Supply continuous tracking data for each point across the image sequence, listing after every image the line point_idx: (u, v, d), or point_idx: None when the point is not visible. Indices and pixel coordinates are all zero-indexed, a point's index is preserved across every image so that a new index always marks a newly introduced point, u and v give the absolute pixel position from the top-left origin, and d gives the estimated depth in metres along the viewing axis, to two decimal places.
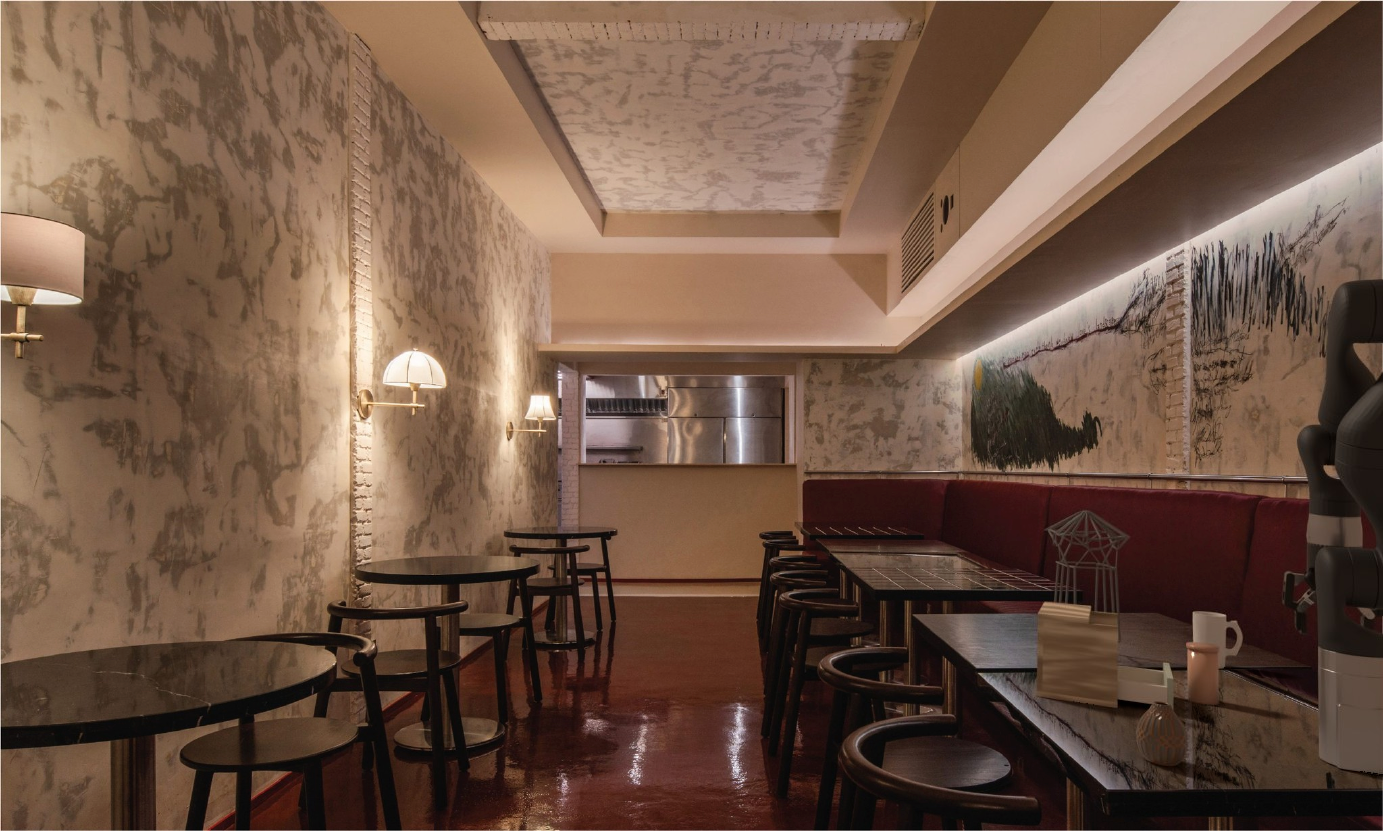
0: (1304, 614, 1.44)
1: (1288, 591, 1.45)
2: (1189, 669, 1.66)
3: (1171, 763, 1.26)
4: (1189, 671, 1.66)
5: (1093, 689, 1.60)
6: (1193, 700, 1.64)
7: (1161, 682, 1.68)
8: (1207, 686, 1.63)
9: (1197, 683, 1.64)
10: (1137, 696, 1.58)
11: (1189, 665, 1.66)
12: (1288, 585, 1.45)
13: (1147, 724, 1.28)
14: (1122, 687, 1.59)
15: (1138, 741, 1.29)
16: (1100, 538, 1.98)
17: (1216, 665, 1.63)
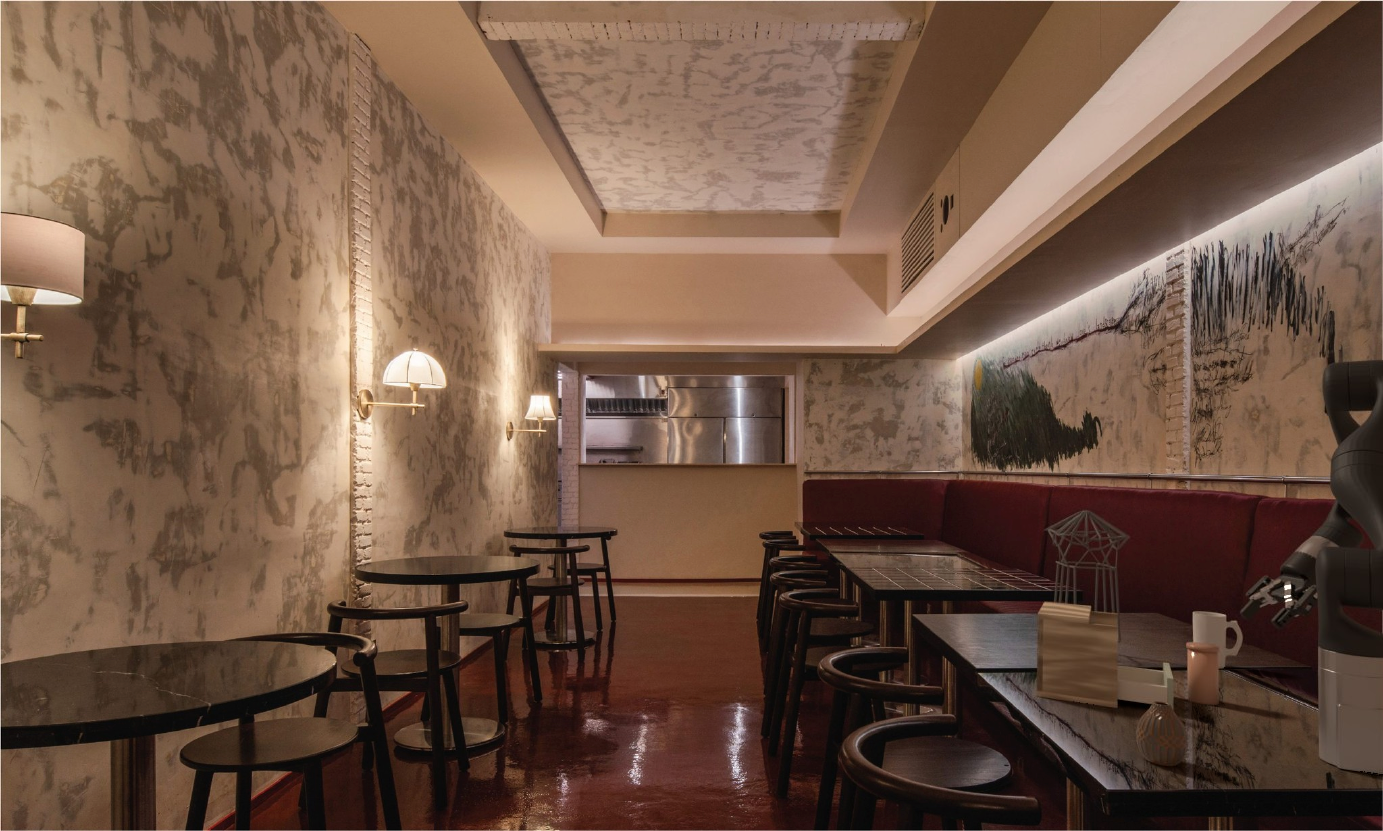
0: (1251, 601, 1.71)
1: (1255, 585, 1.74)
2: (1189, 669, 1.66)
3: (1171, 763, 1.26)
4: (1189, 671, 1.66)
5: (1093, 689, 1.60)
6: (1193, 700, 1.64)
7: (1161, 682, 1.68)
8: (1207, 686, 1.63)
9: (1197, 683, 1.64)
10: (1137, 696, 1.58)
11: (1189, 665, 1.66)
12: (1258, 582, 1.74)
13: (1147, 724, 1.28)
14: (1122, 687, 1.59)
15: (1138, 741, 1.29)
16: (1100, 538, 1.98)
17: (1216, 665, 1.63)
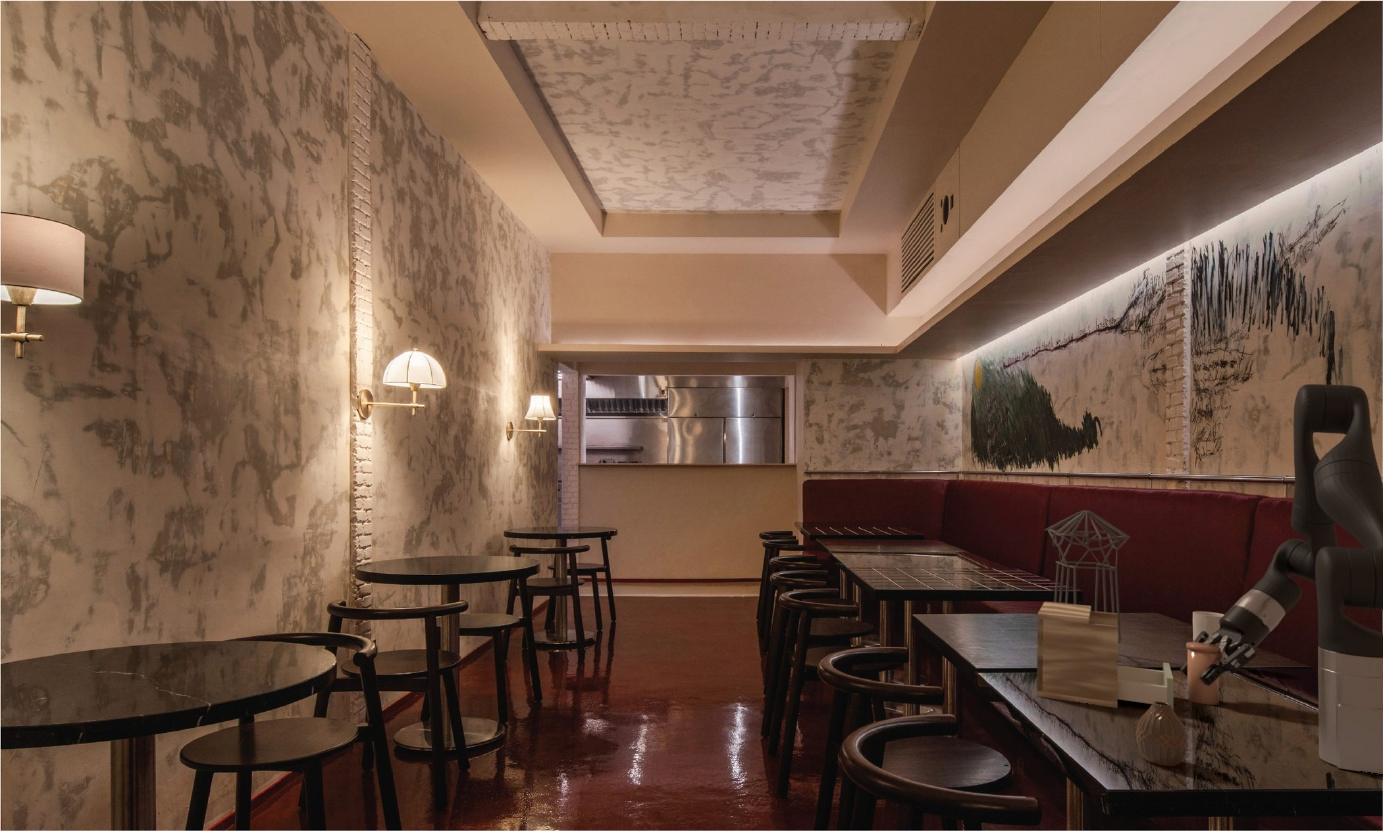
0: None
1: (1195, 641, 1.72)
2: (1189, 669, 1.66)
3: (1171, 763, 1.26)
4: (1189, 671, 1.66)
5: (1093, 689, 1.60)
6: (1193, 700, 1.64)
7: (1161, 682, 1.68)
8: (1207, 686, 1.63)
9: (1197, 683, 1.64)
10: (1137, 696, 1.58)
11: (1189, 665, 1.66)
12: (1197, 638, 1.72)
13: (1147, 724, 1.28)
14: (1122, 687, 1.59)
15: (1138, 741, 1.29)
16: (1100, 538, 1.98)
17: None
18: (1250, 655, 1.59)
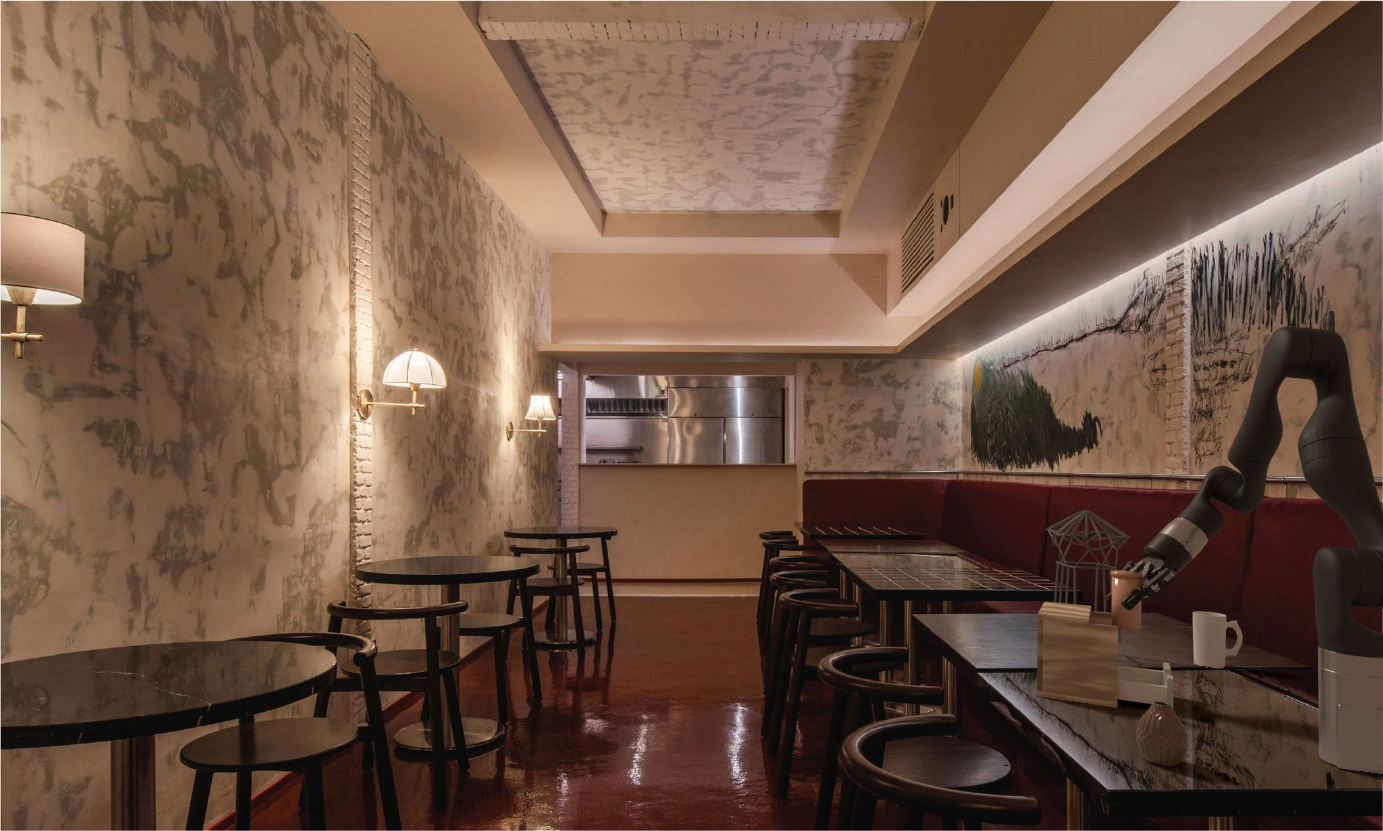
0: None
1: None
2: (1113, 596, 1.67)
3: (1171, 763, 1.26)
4: (1113, 597, 1.67)
5: (1093, 689, 1.60)
6: None
7: (1161, 682, 1.68)
8: (1129, 612, 1.64)
9: (1120, 609, 1.65)
10: (1137, 696, 1.58)
11: (1113, 592, 1.67)
12: (1124, 568, 1.73)
13: (1147, 724, 1.28)
14: (1122, 687, 1.59)
15: (1138, 741, 1.29)
16: (1100, 538, 1.98)
17: None
18: (1169, 579, 1.61)
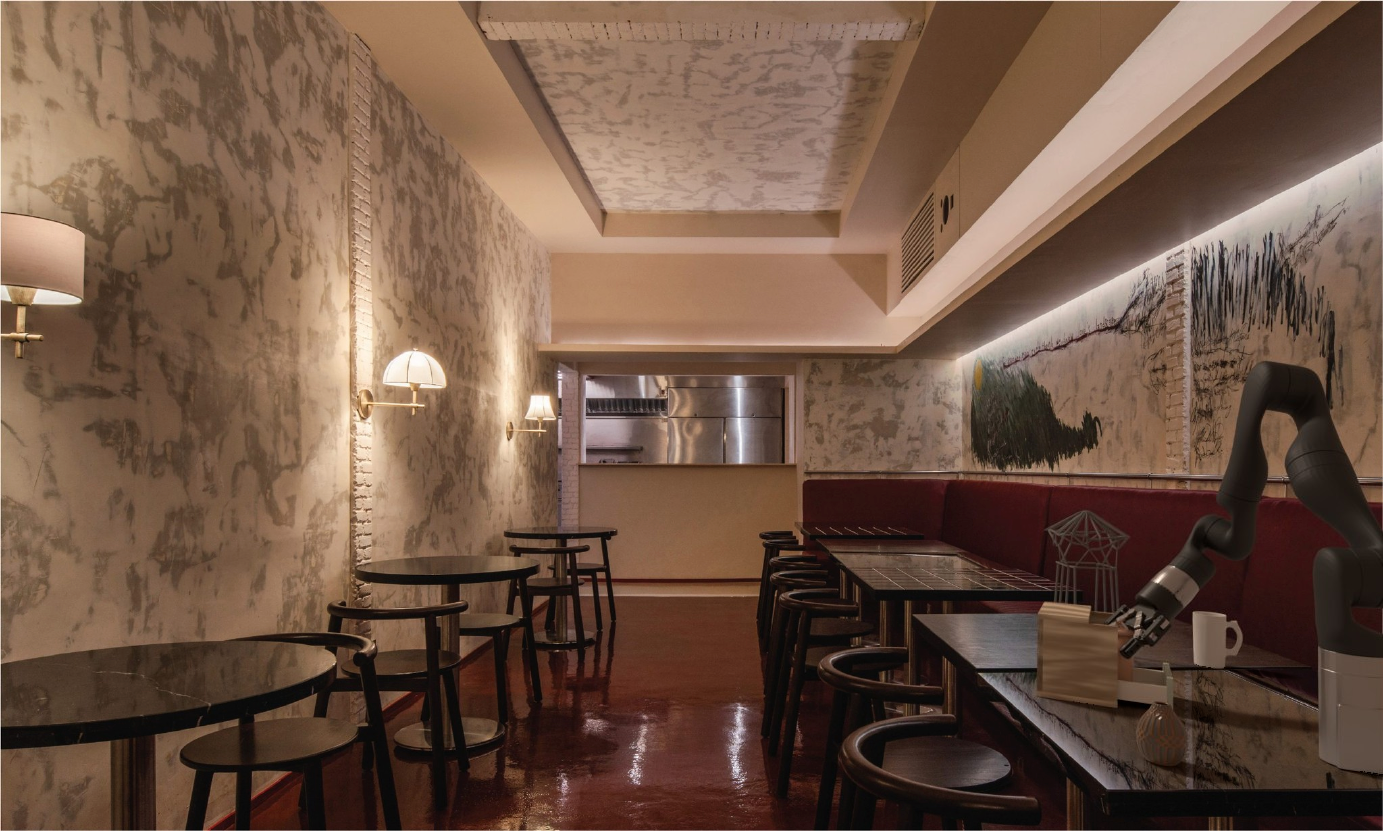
0: None
1: (1114, 615, 1.73)
2: None
3: (1171, 763, 1.26)
4: None
5: (1093, 689, 1.60)
6: None
7: (1161, 682, 1.68)
8: (1121, 671, 1.63)
9: None
10: (1137, 696, 1.58)
11: None
12: (1117, 611, 1.73)
13: (1147, 724, 1.28)
14: (1122, 687, 1.59)
15: (1138, 741, 1.29)
16: (1100, 538, 1.98)
17: None
18: (1165, 627, 1.60)
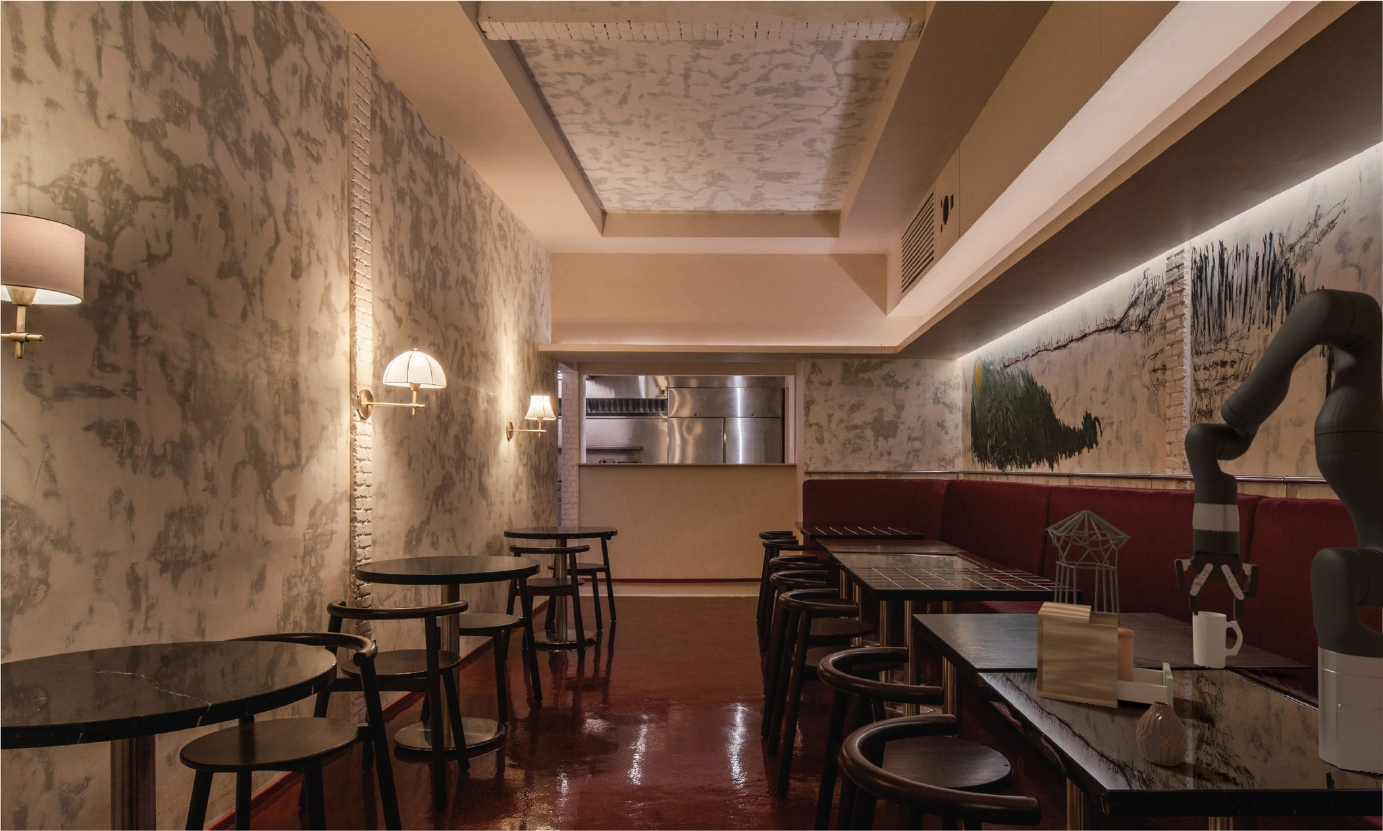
0: (1196, 597, 1.60)
1: (1180, 576, 1.61)
2: None
3: (1171, 763, 1.26)
4: None
5: (1093, 689, 1.60)
6: None
7: (1161, 682, 1.68)
8: (1121, 671, 1.63)
9: None
10: (1137, 696, 1.58)
11: None
12: (1178, 571, 1.62)
13: (1147, 724, 1.28)
14: (1122, 687, 1.59)
15: (1138, 741, 1.29)
16: (1100, 538, 1.98)
17: (1130, 649, 1.64)
18: None
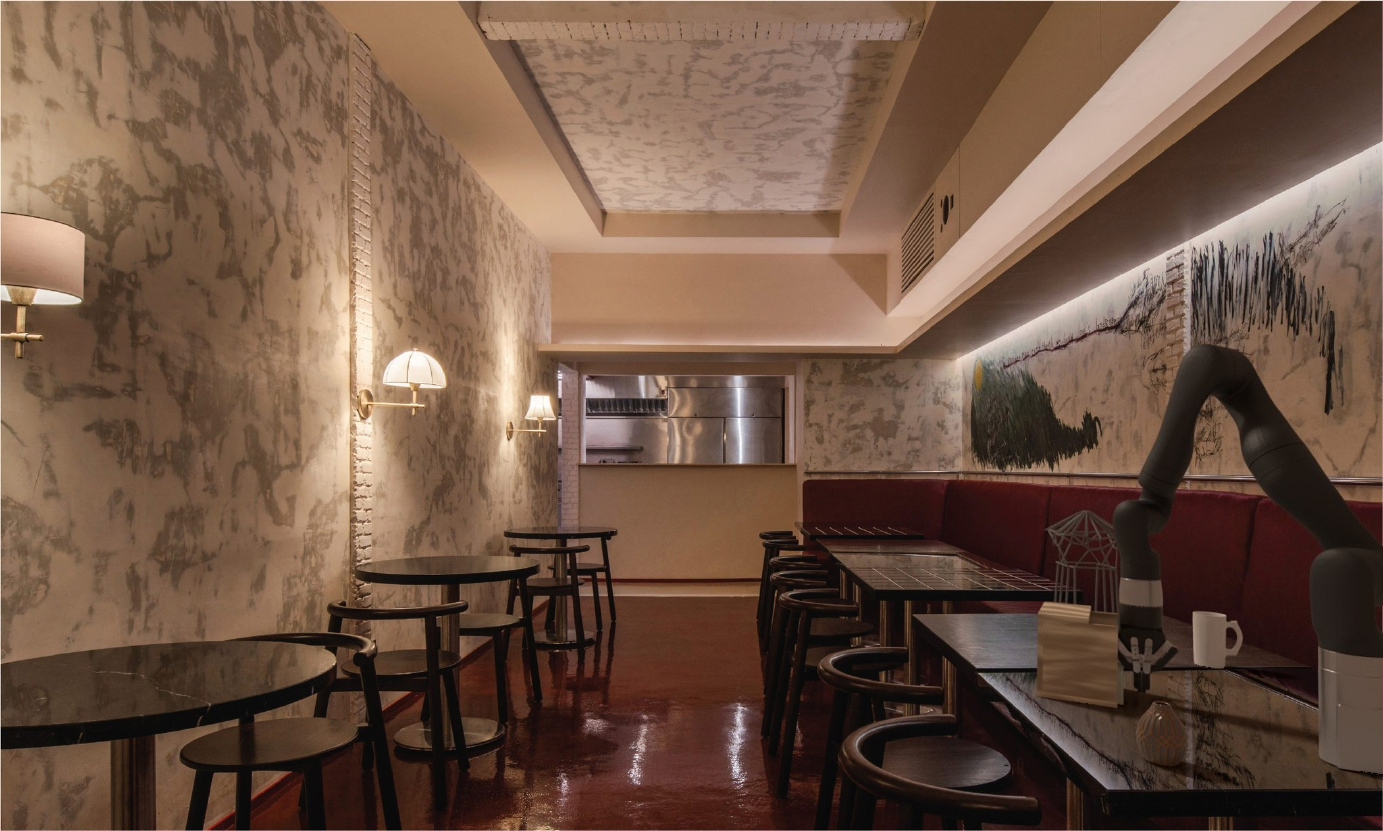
0: (1139, 674, 1.63)
1: (1118, 655, 1.65)
2: None
3: (1171, 763, 1.26)
4: None
5: (1093, 689, 1.60)
6: None
7: None
8: None
9: None
10: None
11: None
12: None
13: (1147, 724, 1.28)
14: None
15: (1138, 741, 1.29)
16: (1100, 538, 1.98)
17: None
18: None
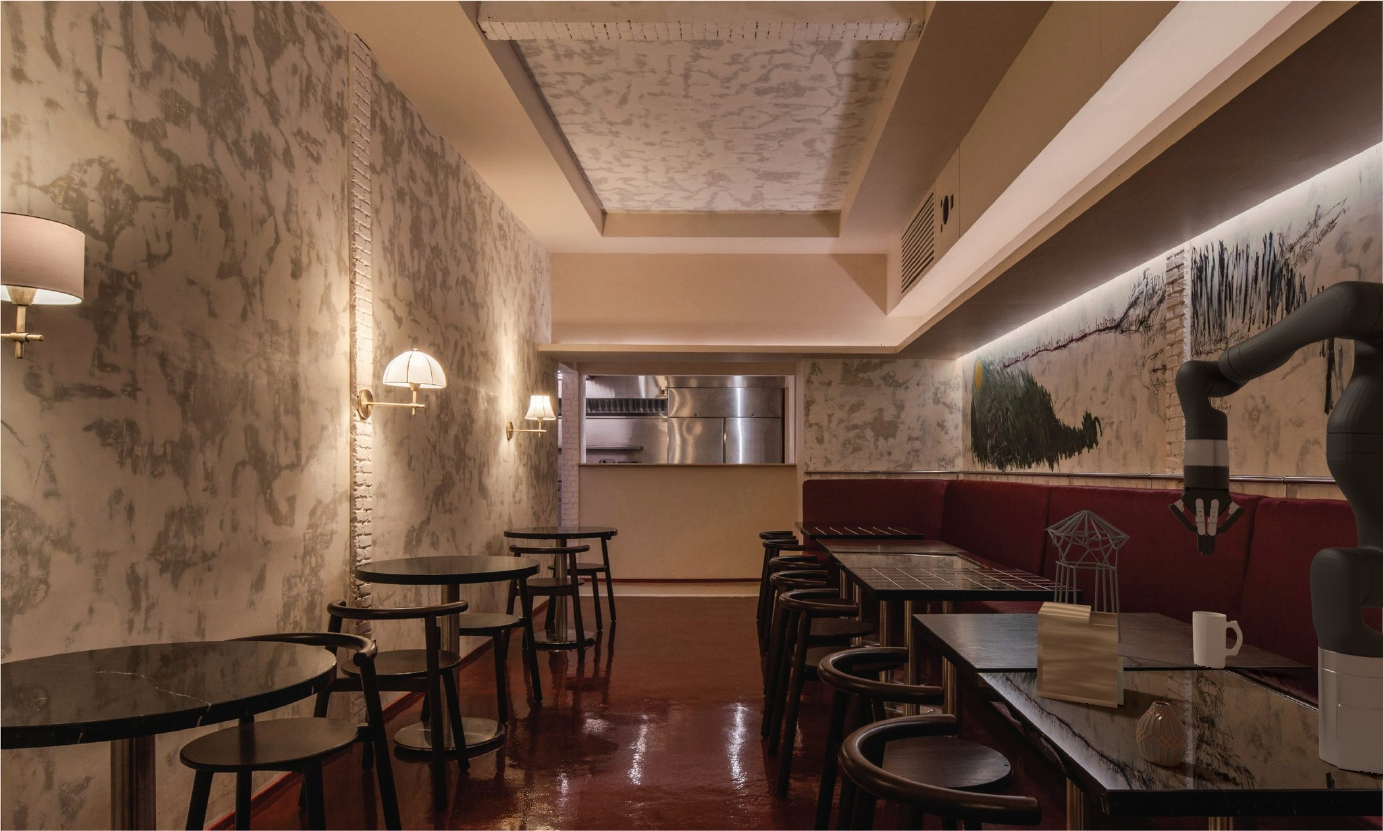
0: (1204, 536, 1.60)
1: (1181, 518, 1.62)
2: None
3: (1171, 763, 1.26)
4: None
5: (1093, 689, 1.60)
6: None
7: None
8: None
9: None
10: None
11: None
12: (1178, 514, 1.62)
13: (1147, 724, 1.28)
14: None
15: (1138, 741, 1.29)
16: (1100, 538, 1.98)
17: None
18: None
